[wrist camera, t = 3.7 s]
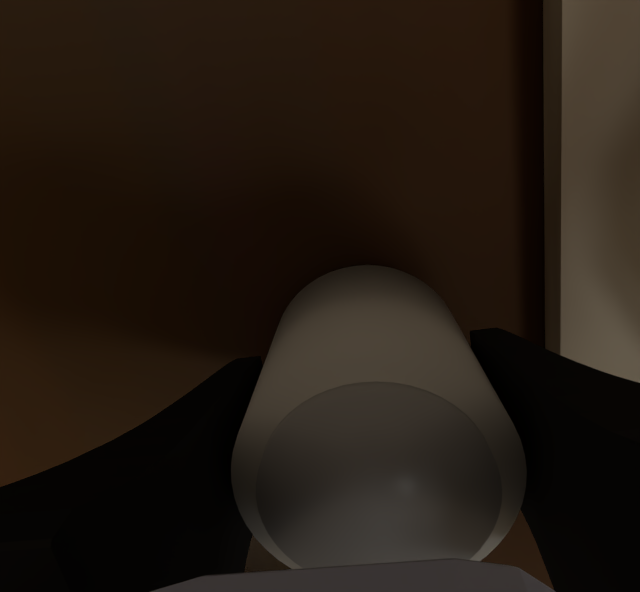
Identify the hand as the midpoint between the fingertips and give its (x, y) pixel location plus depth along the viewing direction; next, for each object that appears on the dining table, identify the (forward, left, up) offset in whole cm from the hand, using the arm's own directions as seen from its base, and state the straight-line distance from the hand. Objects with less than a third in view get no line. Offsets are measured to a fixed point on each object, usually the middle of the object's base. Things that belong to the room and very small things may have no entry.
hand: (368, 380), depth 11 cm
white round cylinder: (0, 0, -2) cm, 2 cm away
